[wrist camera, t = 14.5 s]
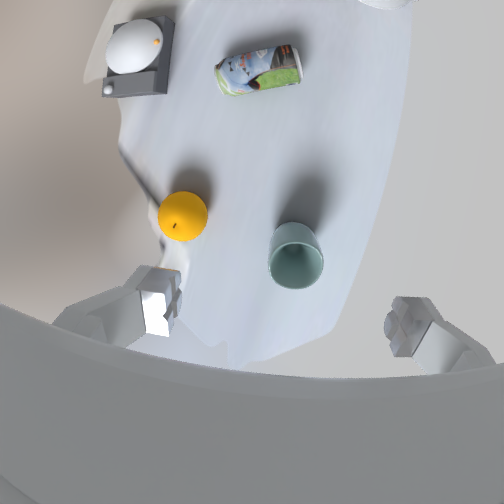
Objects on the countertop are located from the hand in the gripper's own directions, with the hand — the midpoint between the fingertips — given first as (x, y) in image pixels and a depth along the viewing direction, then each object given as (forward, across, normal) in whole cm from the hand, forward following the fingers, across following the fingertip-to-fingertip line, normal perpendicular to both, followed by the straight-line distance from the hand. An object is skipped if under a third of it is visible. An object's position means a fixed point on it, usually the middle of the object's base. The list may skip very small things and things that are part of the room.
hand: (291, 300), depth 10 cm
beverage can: (+32, -2, -15) cm, 35 cm away
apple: (+36, +14, +9) cm, 39 cm away
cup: (+36, -4, +12) cm, 38 cm away
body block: (+35, +23, -17) cm, 45 cm away
